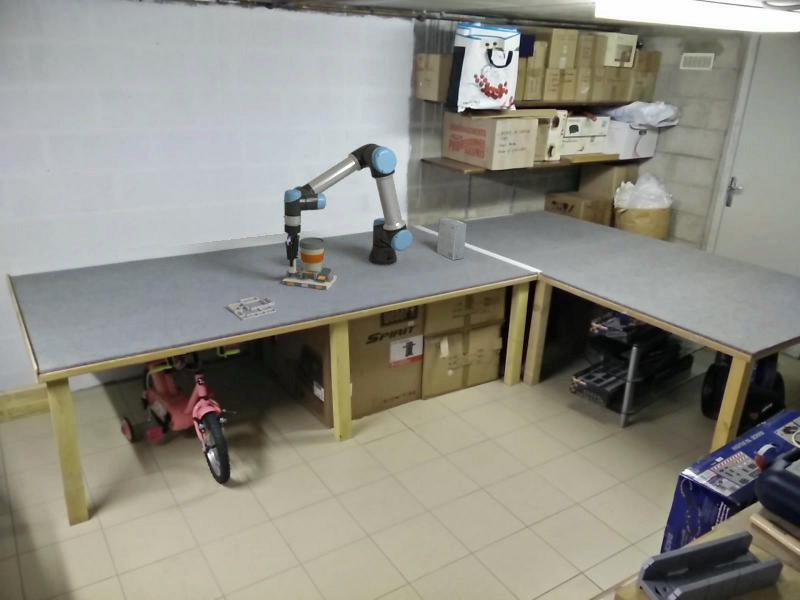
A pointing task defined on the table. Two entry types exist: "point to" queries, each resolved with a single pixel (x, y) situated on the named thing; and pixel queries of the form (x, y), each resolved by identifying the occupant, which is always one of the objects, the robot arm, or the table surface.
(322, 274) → the rocker
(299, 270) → the rocker
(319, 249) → the reusable coffee cup
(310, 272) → the rocker middle
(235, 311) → the floor plan model
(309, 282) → the switch unit
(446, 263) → the table surface
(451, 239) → the hard drive box
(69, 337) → the table surface
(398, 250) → the robot arm
